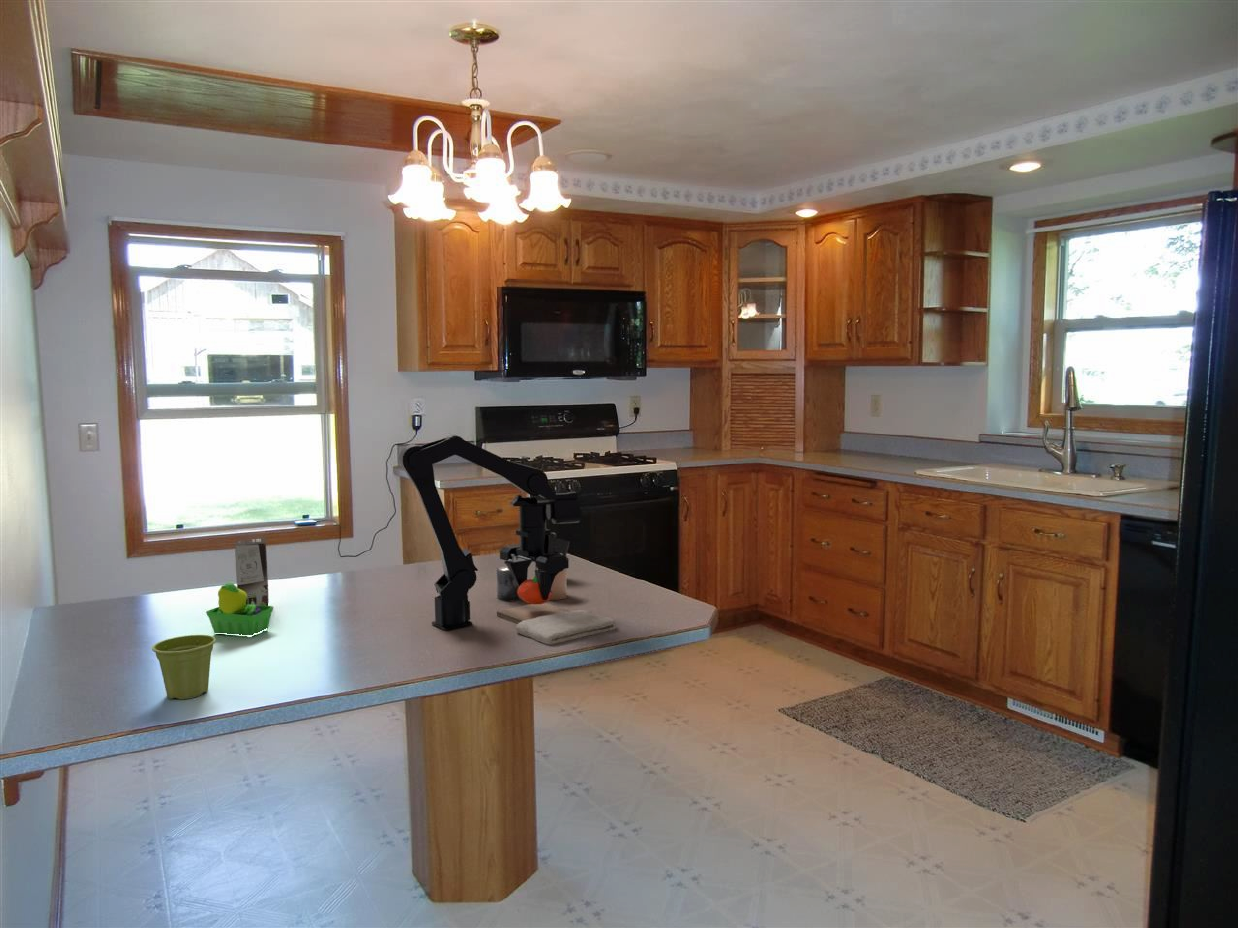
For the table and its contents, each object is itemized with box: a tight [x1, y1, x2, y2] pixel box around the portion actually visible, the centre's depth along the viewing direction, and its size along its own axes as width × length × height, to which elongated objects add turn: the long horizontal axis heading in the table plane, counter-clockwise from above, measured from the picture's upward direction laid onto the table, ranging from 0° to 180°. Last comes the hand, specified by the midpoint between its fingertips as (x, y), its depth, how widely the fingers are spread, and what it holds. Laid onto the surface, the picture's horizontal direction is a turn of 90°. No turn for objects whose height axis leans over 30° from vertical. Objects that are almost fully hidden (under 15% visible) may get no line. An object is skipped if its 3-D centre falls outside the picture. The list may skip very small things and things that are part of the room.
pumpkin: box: [517, 574, 552, 605], centre depth 187 cm, size 7×8×6 cm
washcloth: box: [514, 609, 616, 646], centre depth 176 cm, size 12×18×3 cm, turn 130°
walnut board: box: [496, 602, 570, 625], centre depth 187 cm, size 12×12×1 cm
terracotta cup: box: [537, 569, 568, 601], centre depth 205 cm, size 7×7×7 cm
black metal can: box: [496, 565, 522, 602], centre depth 204 cm, size 6×6×7 cm
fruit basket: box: [205, 582, 275, 635], centre depth 176 cm, size 11×9×11 cm
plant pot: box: [151, 634, 216, 700], centre depth 142 cm, size 9×9×9 cm
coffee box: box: [234, 537, 269, 606], centre depth 194 cm, size 9×6×16 cm
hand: (534, 596), depth 187 cm, fingers closed on pumpkin, 8 cm apart
